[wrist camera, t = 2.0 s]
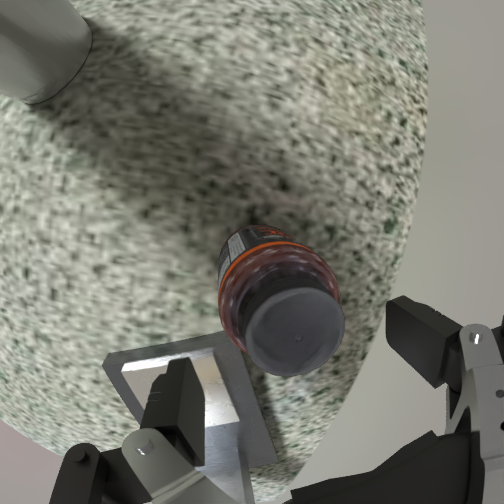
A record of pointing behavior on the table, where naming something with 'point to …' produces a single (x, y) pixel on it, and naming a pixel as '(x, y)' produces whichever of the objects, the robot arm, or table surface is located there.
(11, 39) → the robot arm
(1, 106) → the table surface
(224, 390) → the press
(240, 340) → the supplement bottle
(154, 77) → the table surface
